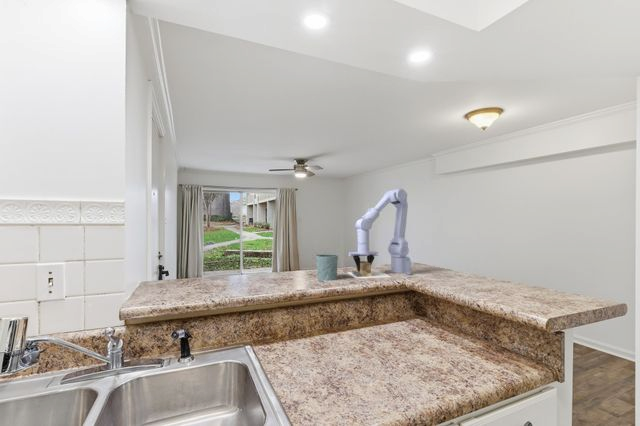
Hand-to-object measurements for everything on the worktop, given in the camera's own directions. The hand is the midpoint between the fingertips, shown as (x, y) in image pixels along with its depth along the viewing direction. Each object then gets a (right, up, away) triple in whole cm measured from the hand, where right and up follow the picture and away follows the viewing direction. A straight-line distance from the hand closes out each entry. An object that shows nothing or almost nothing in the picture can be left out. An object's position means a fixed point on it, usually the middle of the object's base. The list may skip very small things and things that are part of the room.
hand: (363, 270), depth 146 cm
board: (+3, -3, 0) cm, 4 cm away
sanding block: (0, -2, +1) cm, 2 cm away
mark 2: (-3, -2, -3) cm, 5 cm away
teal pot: (-18, -3, -9) cm, 21 cm away
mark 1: (-4, -2, +2) cm, 5 cm away
